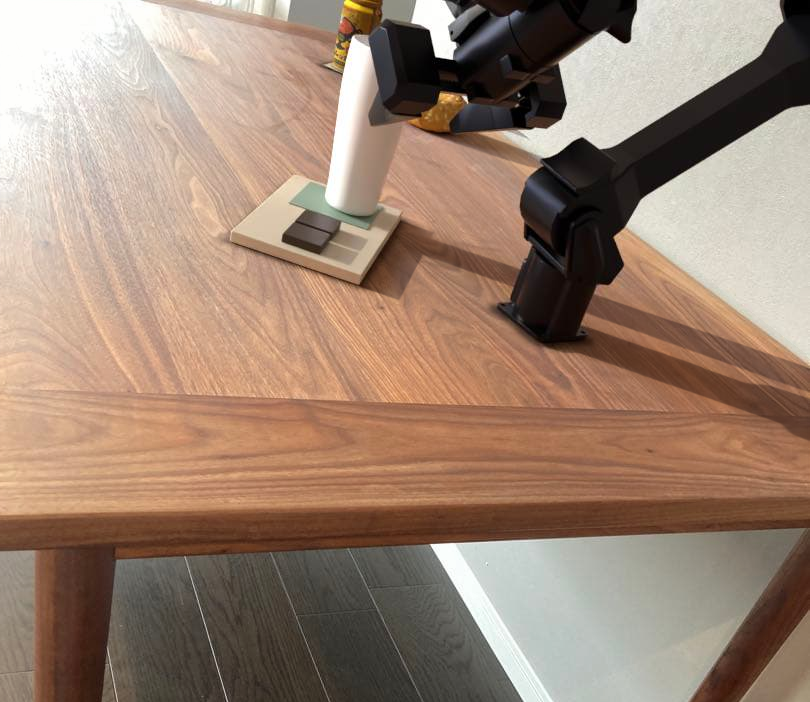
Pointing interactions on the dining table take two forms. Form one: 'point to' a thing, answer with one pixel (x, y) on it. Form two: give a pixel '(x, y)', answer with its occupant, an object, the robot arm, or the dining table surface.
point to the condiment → (355, 27)
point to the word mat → (316, 231)
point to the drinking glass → (359, 138)
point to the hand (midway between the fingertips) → (412, 124)
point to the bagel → (440, 113)
